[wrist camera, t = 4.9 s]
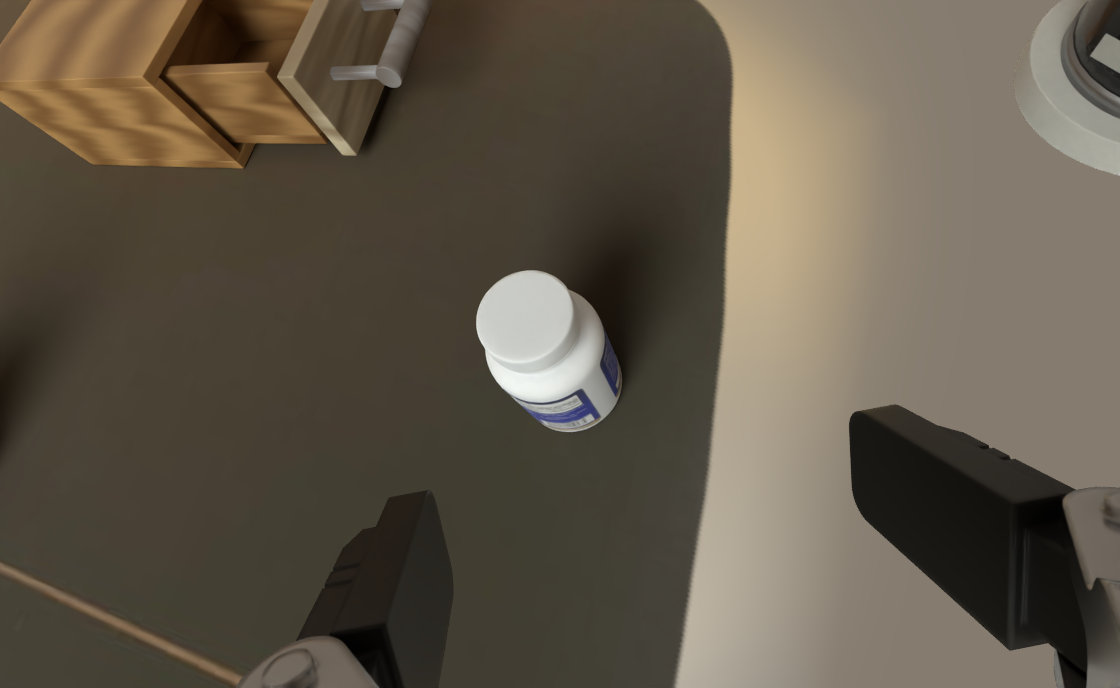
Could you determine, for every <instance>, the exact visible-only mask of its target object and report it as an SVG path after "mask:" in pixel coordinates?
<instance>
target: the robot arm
mask: <svg viewBox="0 0 1120 688" xmlns="http://www.w3.org/2000/svg"><path fill="white" fill-rule="evenodd" d="M1060 53H1061V62H1062V67H1063V69H1064V72H1065V74H1066V76H1067V78H1068V80H1069V81H1070V83H1071V84H1072V85H1073V87H1074V88H1075V89H1076V90H1077V91H1078V92H1079V93H1080V94H1081V95H1082V96H1083V97H1084V98H1085V99H1086V100H1088V101H1089V102H1090V103H1092V104H1093V105H1094V106H1096V107H1098V108H1099V109H1101V110H1102V111H1104V112H1106V113H1108V114H1110V115H1112V116H1114V117H1116V118H1119V119H1120V0H1089V1H1087V2H1086V3H1085V4H1084V6H1083V7H1082V8H1081V9H1080V11H1079V12H1078V14H1077V15H1076V17H1075V18H1074V20H1073V21H1072V23H1071V24H1070V26H1069V28H1068V29H1067V31H1066V33H1065V35H1064V37H1063V40H1062V44H1061V52H1060ZM849 434H850V435H849V436H850V458H851V479H852V491H853V496H854V499H855V502H856V505H857V507H858V509H859V511H860V513H861V514H862V516H863V517H864V518H865V520H866V521H867V522H868V523H869V524H870V525H872V526H873V527H874V528H875V529H876V530H877V531H878V532H879V533H880V534H882V535H883V536H884V537H885V538H886V539H887V540H888V541H889V542H890V543H892V544H893V545H894V546H895V547H896V548H897V549H898V550H899V551H900V552H901V553H903V554H904V555H905V556H906V557H907V558H908V559H909V560H910V561H911V562H912V563H914V564H915V565H916V566H917V567H918V568H919V569H920V570H921V571H922V572H923V573H925V574H926V575H927V576H928V577H929V578H930V579H931V580H932V581H934V582H935V583H936V584H937V585H938V586H939V587H940V588H941V589H942V590H943V591H944V592H946V593H947V594H948V595H949V596H950V597H951V598H952V599H953V600H954V601H955V602H957V603H958V604H959V605H960V606H961V607H962V608H963V609H964V610H965V611H967V612H968V613H969V614H970V615H971V616H972V617H973V618H974V619H976V620H977V621H978V622H979V623H980V624H981V625H982V626H983V627H984V628H985V629H986V630H988V631H989V632H990V633H991V634H992V635H993V636H994V637H995V638H997V639H998V640H999V641H1000V642H1001V643H1002V644H1003V645H1004V646H1005V647H1006V648H1007V649H1009V650H1016V649H1020V648H1025V647H1031V646H1035V645H1041V644H1045V643H1049V644H1050V645H1051V646H1052V647H1054V648H1055V655H1054V656H1055V657H1054V674H1055V680H1056V685H1057V688H1120V488H1115V487H1092V488H1084V489H1079V490H1075V489H1073V488H1071V487H1069V486H1067V485H1065V484H1063V483H1061V482H1059V481H1058V480H1055V479H1053V478H1052V477H1050V476H1048V475H1046V474H1044V473H1042V472H1040V471H1038V470H1036V469H1034V468H1032V467H1030V466H1028V465H1026V464H1024V463H1022V462H1020V461H1018V460H1016V459H1010V457H1009V455H1007V454H1004V453H1003V452H1001V451H999V450H997V449H995V448H989V446H988V445H987V444H985V443H983V442H981V441H979V440H977V439H975V438H973V437H971V436H969V435H967V434H965V433H963V432H959V431H956V430H952V429H948V428H945V427H941V426H937V425H935V424H933V423H932V422H930V421H928V420H926V419H924V418H922V417H920V416H918V415H916V414H914V413H913V412H910V411H909V410H907V409H905V408H903V407H901V406H899V405H889V406H884V407H879V408H873V409H868V410H862V411H857V412H854V413H853V414H852V416H851V418H850V422H849ZM452 602H453V575H452V568H451V563H450V558H449V554H448V550H447V546H446V542H445V538H444V534H443V530H442V526H441V522H440V517H439V513H438V509H437V505H436V501H435V498H434V496H433V494H432V492H431V491H430V490H427V491H421V492H416V493H411V494H405V495H400V496H395V497H390V498H389V499H388V501H387V503H386V505H385V507H384V510H383V512H382V514H381V516H380V519H379V521H378V523H377V526H376V527H373V528H368V529H363V530H362V531H361V532H360V533H359V534H358V535H357V536H356V537H354V538H353V539H352V540H351V541H350V542H349V543H348V544H347V545H346V546H345V547H344V548H343V549H342V551H341V553H340V555H339V557H338V559H337V561H336V563H335V565H334V567H333V572H331V573H330V575H329V577H328V579H327V581H326V583H325V588H324V589H322V591H321V593H320V595H319V597H318V598H317V600H316V602H315V604H314V606H313V608H312V610H311V612H310V614H309V616H308V618H307V620H306V622H305V624H304V626H303V628H302V630H301V632H300V634H299V636H298V638H297V640H296V641H295V642H292V643H290V644H288V645H285V646H283V647H281V648H280V649H278V650H276V651H274V652H273V653H271V654H269V655H268V656H266V657H265V658H264V659H262V660H261V661H260V662H258V663H257V664H256V665H255V666H254V667H253V668H252V669H250V670H249V671H248V672H247V673H246V675H245V676H244V677H243V678H242V679H241V680H240V682H239V683H238V685H237V686H236V688H438V686H439V680H440V674H441V668H442V662H443V656H444V650H445V644H446V638H447V632H448V626H449V620H450V614H451V608H452Z"/></svg>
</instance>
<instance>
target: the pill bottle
mask: <svg viewBox="0 0 1120 688" xmlns="http://www.w3.org/2000/svg"><path fill="white" fill-rule="evenodd" d="M476 327H477V332H478V336H479V339H480V341H481V343H482V344H483V346H484V347H485V351H486V359H487V363H488V366H489V369H490V371H491V373H492V375H493V376H494V378H495V379H496V381H497V382H498V383H499V384H500V386H501V387H502V388H503V389H504V390H505V391H506V392H507V393H508V394H509V395H510V396H511V397H513V398H514V399H515V400H516V401H517V402H518V403H519V404H520V405H521V406H522V407H523V408H525V409H526V410H527V411H528V412H529V413H530V414H531V415H532V416H533V417H534V418H536V419H537V420H538V421H539V422H541V423H542V424H543V425H545V426H547V427H549V428H551V429H554V430H558V431H563V432H575V431H581V430H585V429H588V428H590V427H592V426H594V425H596V424H597V423H599V422H600V421H602V420H603V419H604V418H605V417H606V416H607V415H608V414H609V413H610V412H611V411H612V409H613V408H614V406H615V405H616V403H617V401H618V398H619V396H620V392H621V386H622V374H621V369H620V366H619V363H618V360H617V357H616V355H615V353H614V350H613V348H612V346H611V343H610V341H609V339H608V336H607V334H606V332H605V329H604V327H603V325H602V322H601V320H600V318H599V316H598V315H597V313H596V311H595V310H594V308H593V307H592V306H591V305H590V304H589V303H588V302H587V301H586V300H585V299H584V298H583V297H582V296H580V295H579V294H577V293H575V292H573V291H571V290H568V289H567V287H566V286H565V285H564V284H563V283H562V282H561V281H560V280H559V279H558V278H556V277H555V276H553V275H551V274H548V273H545V272H542V271H535V270H529V271H520V272H516V273H513V274H511V275H508V276H506V277H504V278H503V279H501V280H500V281H498V282H497V283H496V284H494V285H493V286H492V287H491V288H490V289H489V291H488V292H487V293H486V294H485V296H484V298H483V299H482V301H481V303H480V306H479V309H478V313H477V319H476Z"/></svg>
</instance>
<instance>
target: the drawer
mask: <svg viewBox="0 0 1120 688" xmlns="http://www.w3.org/2000/svg"><path fill="white" fill-rule="evenodd" d="M432 3H433V0H202V2H201V4H200V5H199V7H198V9H197V11H196V12H195V14H194V16H193V18H192V19H191V21H190V23H189V25H188V26H187V28H186V30H185V32H184V33H183V35H182V37H181V39H180V40H179V42H178V44H177V46H176V47H175V49H174V51H173V53H172V54H171V56H170V58H169V60H168V61H167V63H166V65H165V67H164V68H163V70H162V72H161V74H160V75H159V78H160V79H161V80H162V81H163V82H164V83H166V84H167V85H168V86H169V87H170V88H171V89H172V90H173V91H174V92H175V93H176V94H177V95H178V96H180V97H181V98H182V99H183V100H184V101H185V102H186V103H187V104H188V105H189V106H190V107H191V108H192V109H194V110H195V111H196V112H197V113H198V114H199V115H200V116H201V117H202V118H203V119H204V120H205V121H206V122H208V123H209V124H210V125H211V126H212V127H213V128H214V129H215V130H216V131H217V132H218V133H219V134H220V135H222V136H223V137H224V138H225V139H226V140H227V141H228V142H229V143H290V144H327V143H328V140H330V141H331V142H332V143H333V144H334V146H335V147H336V148H337V149H338V150H339V151H340V153H341V154H342V155H357V154H358V151H359V149H360V146H361V144H362V141H363V139H364V136H365V134H366V131H367V129H368V126H369V124H370V121H371V119H372V116H373V114H374V111H375V109H376V106H377V104H378V101H379V98H380V96H381V93H382V91H383V88H384V86H385V85H386V86H388V87H391V88H397V87H399V86H400V85H401V84H402V81H403V79H404V76H405V73H406V71H407V68H408V66H409V63H410V60H411V58H412V55H413V53H414V50H415V48H416V45H417V42H418V40H419V37H420V35H421V32H422V29H423V27H424V24H425V22H426V19H427V16H428V14H429V11H430V9H431V6H432ZM394 9H400V12H399V14H398V16H397V15H396V13H395V11H394Z"/></svg>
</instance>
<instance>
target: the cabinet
mask: <svg viewBox="0 0 1120 688" xmlns="http://www.w3.org/2000/svg"><path fill="white" fill-rule="evenodd" d="M201 2H202V0H31V2H30V3H29V5H28V6H27V8H26V9H25V10H24V12H23V13H22V15H21V16H20V17H19V19H18V20H17V22H16V23H15V24H14V26H13V27H12V29H11V30H10V32H9V33H8V34H7V36H6V37H5V39H4V40H3V41H2V43H1V44H0V101H1V102H2V103H4V104H5V105H7V106H8V107H10V108H11V109H12V110H14V111H15V112H17V113H18V114H20V115H21V116H23V117H24V118H26V119H27V120H28V121H30V122H31V123H33V124H34V125H36V126H37V127H39V128H40V129H42V130H43V131H44V132H46V133H47V134H49V135H50V136H52V137H53V138H55V139H56V140H58V141H59V142H61V143H62V144H63V145H65V146H66V147H68V148H69V149H71V150H72V151H74V152H75V153H77V154H78V155H79V156H81V157H82V158H84V159H85V160H87V161H88V162H90V163H91V164H93V165H127V166H167V167H207V168H244V167H245V165H246V163H247V161H248V159H249V157H250V154H251V152H252V150H253V148H254V146H255V144H256V143H229V142H228V141H227V140H226V139H225V138H224V137H223V136H222V135H220V134H219V133H218V132H217V131H216V130H215V129H214V128H213V127H212V126H211V125H210V124H209V123H208V122H206V121H205V120H204V119H203V118H202V117H201V116H200V115H199V114H198V113H197V112H196V111H195V110H194V109H192V108H191V107H190V106H189V105H188V104H187V103H186V102H185V101H184V100H183V99H182V98H181V97H180V96H178V95H177V94H176V93H175V92H174V91H173V90H172V89H171V88H170V87H169V86H168V85H167V84H166V83H164V82H163V81H162V80H161V79H160V78H159V75H160V74H161V72H162V70H163V68H164V67H165V65H166V63H167V61H168V60H169V58H170V56H171V54H172V53H173V51H174V49H175V47H176V46H177V44H178V42H179V40H180V39H181V37H182V35H183V33H184V32H185V30H186V28H187V26H188V25H189V23H190V21H191V19H192V18H193V16H194V14H195V12H196V11H197V9H198V7H199V5H200V4H201Z"/></svg>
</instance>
